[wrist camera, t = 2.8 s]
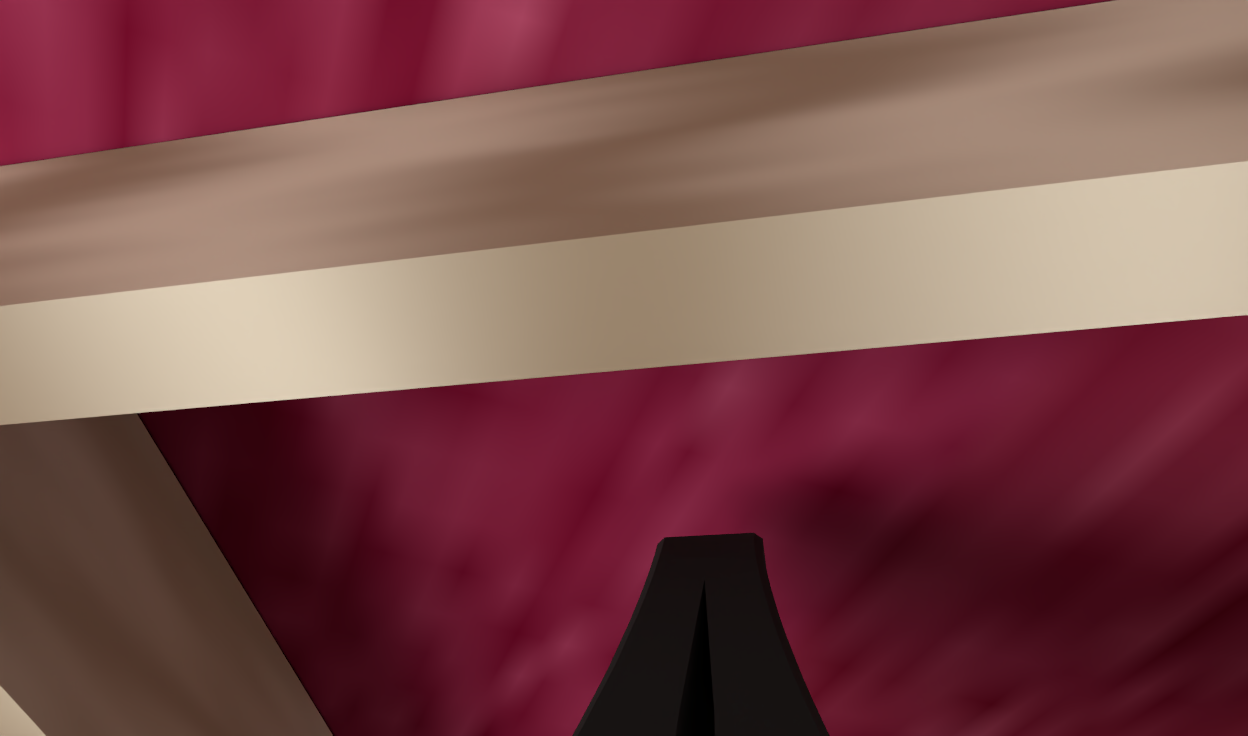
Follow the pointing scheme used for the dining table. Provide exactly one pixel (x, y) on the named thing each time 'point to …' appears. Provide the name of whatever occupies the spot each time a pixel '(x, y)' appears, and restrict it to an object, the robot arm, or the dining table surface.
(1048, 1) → the dining table surface
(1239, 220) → the wooden frame
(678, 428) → the dining table surface
